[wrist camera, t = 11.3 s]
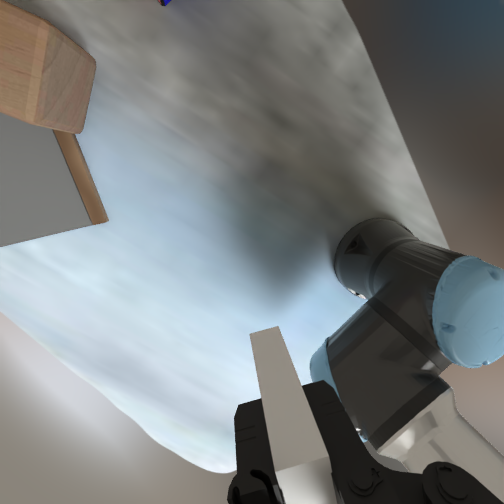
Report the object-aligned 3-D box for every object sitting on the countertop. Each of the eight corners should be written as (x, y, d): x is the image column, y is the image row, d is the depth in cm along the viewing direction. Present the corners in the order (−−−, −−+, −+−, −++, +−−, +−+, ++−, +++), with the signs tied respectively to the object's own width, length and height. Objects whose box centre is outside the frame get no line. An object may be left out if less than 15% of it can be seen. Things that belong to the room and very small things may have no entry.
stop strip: (39, 44, 35) (33, 40, 34) (109, 220, 42) (106, 222, 41) (23, 47, 35) (17, 43, 34) (96, 223, 42) (93, 225, 41)
